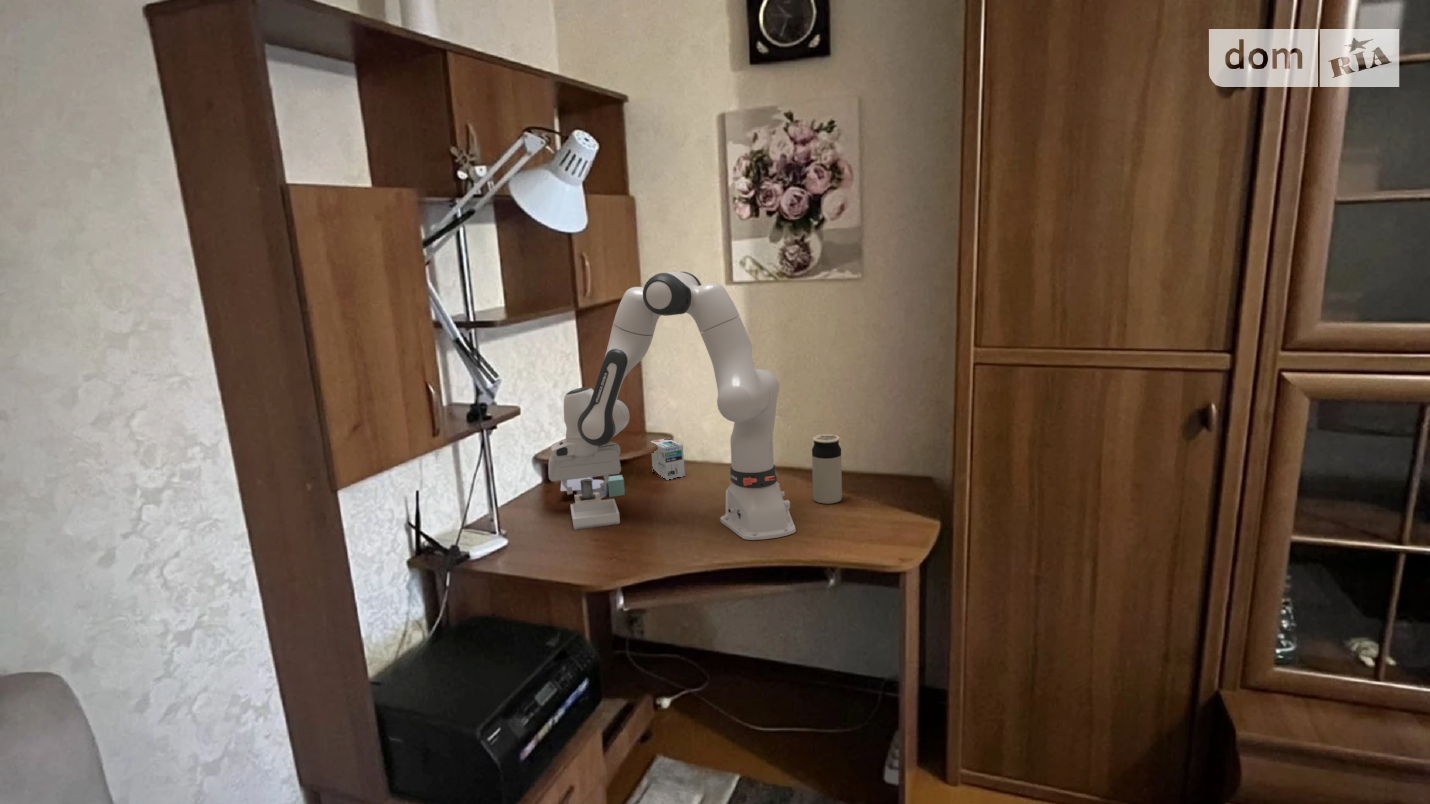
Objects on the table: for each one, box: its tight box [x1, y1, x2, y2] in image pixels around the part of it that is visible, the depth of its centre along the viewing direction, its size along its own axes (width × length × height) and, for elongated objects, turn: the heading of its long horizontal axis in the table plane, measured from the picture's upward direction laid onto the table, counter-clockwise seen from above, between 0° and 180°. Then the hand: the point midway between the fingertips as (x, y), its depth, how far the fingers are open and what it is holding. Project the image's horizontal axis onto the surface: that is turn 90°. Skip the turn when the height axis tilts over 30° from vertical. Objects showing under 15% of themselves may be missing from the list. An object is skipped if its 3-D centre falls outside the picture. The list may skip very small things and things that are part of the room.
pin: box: [580, 479, 593, 501], centre depth 220 cm, size 3×3×8 cm
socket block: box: [574, 492, 602, 504], centre depth 220 cm, size 7×7×3 cm
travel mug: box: [811, 433, 843, 505], centre depth 215 cm, size 8×8×18 cm
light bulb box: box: [650, 438, 686, 481], centre depth 246 cm, size 11×7×11 cm, turn 30°
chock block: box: [607, 474, 626, 498], centre depth 231 cm, size 4×4×5 cm
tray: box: [569, 498, 621, 531], centre depth 211 cm, size 12×12×3 cm
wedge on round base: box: [560, 477, 609, 499], centre depth 231 cm, size 9×7×13 cm
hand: (586, 492), depth 220 cm, fingers open, 8 cm apart
